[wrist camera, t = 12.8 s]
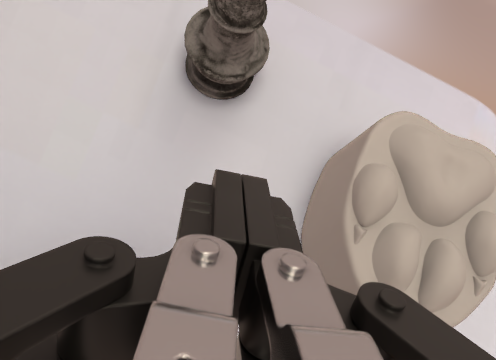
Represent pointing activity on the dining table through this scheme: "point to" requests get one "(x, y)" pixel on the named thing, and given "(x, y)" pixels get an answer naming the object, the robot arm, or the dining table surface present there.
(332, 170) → the lumpy-topped squat cylinder
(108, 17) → the dining table surface
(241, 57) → the grey stone knobbed piece
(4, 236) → the dining table surface
